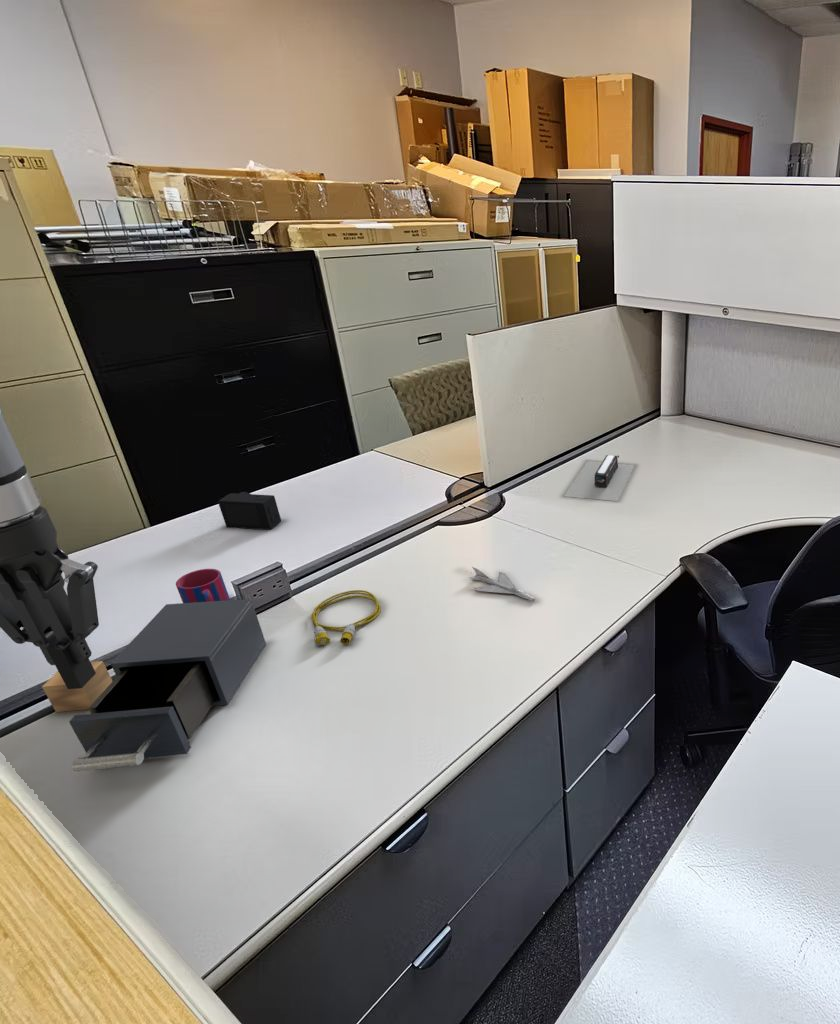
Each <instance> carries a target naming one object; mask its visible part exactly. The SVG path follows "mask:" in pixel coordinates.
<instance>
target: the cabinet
mask: <svg viewBox="0 0 840 1024" xmlns="http://www.w3.org/2000/svg"><path fill="white" fill-rule="evenodd" d="M266 646H267V642H266V640H265V636H264V632H263V630H262V627H261V624H260V621H259V619H258V615H257V613H256V609H255V606H254V603H253V600H252V598H245V599H230V600H227V601H211V602H195V603H183V602H182V603H181V602H180V603H167V604H165V605H164V606H163V607H162V608H161V609H160V610H159V611H158V612H157V614H155V615H154V616H153V618H152V619H150V621H149V622H148V623H147V624H146V625H145V626H144V627H143V628H142V629H141V630H140V632H139V633H137V635H136V636H135V637H134V638H133V639H132V640H131V641H130V642H129V643H128V644H127V646H125V648H124V649H123V650H122V651H121V652H120V653H119V654H118V655H117V656H116V657H115V658H114V659H113V660H112V661H111V662H110V667H111V669H112V670H113V672H114V673H115V676H116V677H117V676H118V675H119V674H120V673H121V671H122V670H123V669H124V668H125V667H130V666H143V665H156V664H168V663H181V662H194V661H205V663H206V665H207V668H208V670H209V673H210V675H211V678H212V680H213V683H214V685H215V688H216V690H217V693H218V695H219V696H218V698H217V699H216V701H215V702H214V704H213V705H212V707H218V706H227V705H229V703H230V702H231V700H232V699H233V697H234V696H235V694H236V693H237V691H238V690H239V688H240V686H241V684H242V683H243V682H244V680H245V678H246V677H247V675H248V674H249V672H250V670H251V669H252V668H253V666H254V664H255V663H256V661H257V659H258V658H259V656H260V655H261V653H262V651H263V650H264V648H265V647H266Z"/></svg>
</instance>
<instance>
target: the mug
mask: <svg viewBox="0 0 840 1024" xmlns="http://www.w3.org/2000/svg"><path fill="white" fill-rule="evenodd" d="M175 587H176V589H177V591H178V594H179V597H180V599H181V602H182V603H195V602H211V601H227V600H231V598H230V595H229V593H228V590H227V587H226V584H225V581H224V578H223V576H222V572H221V571H220V570H219V569H216V568H202V569H197V570H193V571H191V572H188V573H186V574H184V575H182V576H181V577H179V578H178V579H177V580H176V582H175Z"/></svg>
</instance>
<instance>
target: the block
mask: <svg viewBox="0 0 840 1024" xmlns="http://www.w3.org/2000/svg"><path fill="white" fill-rule="evenodd" d="M90 662H91V664H92V666H93V668H94V670H95V672H96V674H95V675H94V676H93V677H92V678H91V679H90V680H89V681H88V682H87V683H86V684H85V685H84V686H83V687H82V688H78V689H68V688H67V687H66V685H65V683H64V681H63V679H62V677H61V675H60V673H59V672H58V671H56V672H55V673H54V674H53V676H51V677H50V678H49V679H48V680H47V681H46V682H45V683H44V684H43V685H42V686H41V689H42V690H43V692H44V694H45V695H46V697H47V699H48V702H49V703H50V704H51V706H52V708H53V710H54V711H55V713H63V712H72V711H83V710H89V707H90V706H91V705H92V704H93V703H94V701H95V700H96V699H97V698H98V697H99V696H100V695H101V694H102V693H103V691H104V690H105V689H106V688H107V687H108V686H109V685H110V684H111V683H112V681H113V678H112V677H111V675H110V672H109V671H108V669H107V667H106V665H105V663H104V661H103V660H102V661H101V660H100V661H90Z"/></svg>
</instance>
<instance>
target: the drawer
mask: <svg viewBox="0 0 840 1024" xmlns="http://www.w3.org/2000/svg"><path fill="white" fill-rule="evenodd" d="M218 696H219V695H218V693H217V690H216V688H215V685H214V683H213V680H212V678H211V675H210V673H209V670H208V668H207V665H206V663H205V661H194V662H181V663H168V664H156V665H143V666H130V667H125V668H124V669H123V670H122V671H121V673H120V674H119V675H118V676H116V677H115V678H114V679H112V683H111V684H110V685H109V686H108V687H107V688H106V689H105V690H104V691H103V693H102V694H101V695H100V696H99V697H98V698H97V699H96V700H95V701H94V703H93V704H92V705H91V706H90V707H89V709H88V711H89V712H90V713H84V714H75V715H74V716H72V718H71V719H70V720H69V721H68V723H69V724H70V726H71V728H72V731H73V732H74V734H75V735H76V738H77V740H78V741H79V743H80V744H81V746H82V748H83V750H84V752H85V754H84V755H83V756H82V757H77V758H75V759H74V760H73V762H72V765H71V768H72V769H71V770H72V771H73V772H83V771H93V770H94V771H95V770H103V769H112V768H122V767H131V766H140V765H142V763H143V762H144V760H145V759H151V758H152V759H153V758H162V757H172V756H181V755H187V754H188V753H189V752H190V750H191V748H192V746H191V744H190V742H189V740H191V739H192V737H193V735H194V734H195V733H196V731H197V729H198V728H199V726H200V725H201V723H202V722H203V720H204V719H205V717H206V716H207V714H208V712H209V711H210V709H211V708H212V707H213V706H212V705H213V704H214V702H215V701H216V699H217V698H218Z"/></svg>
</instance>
